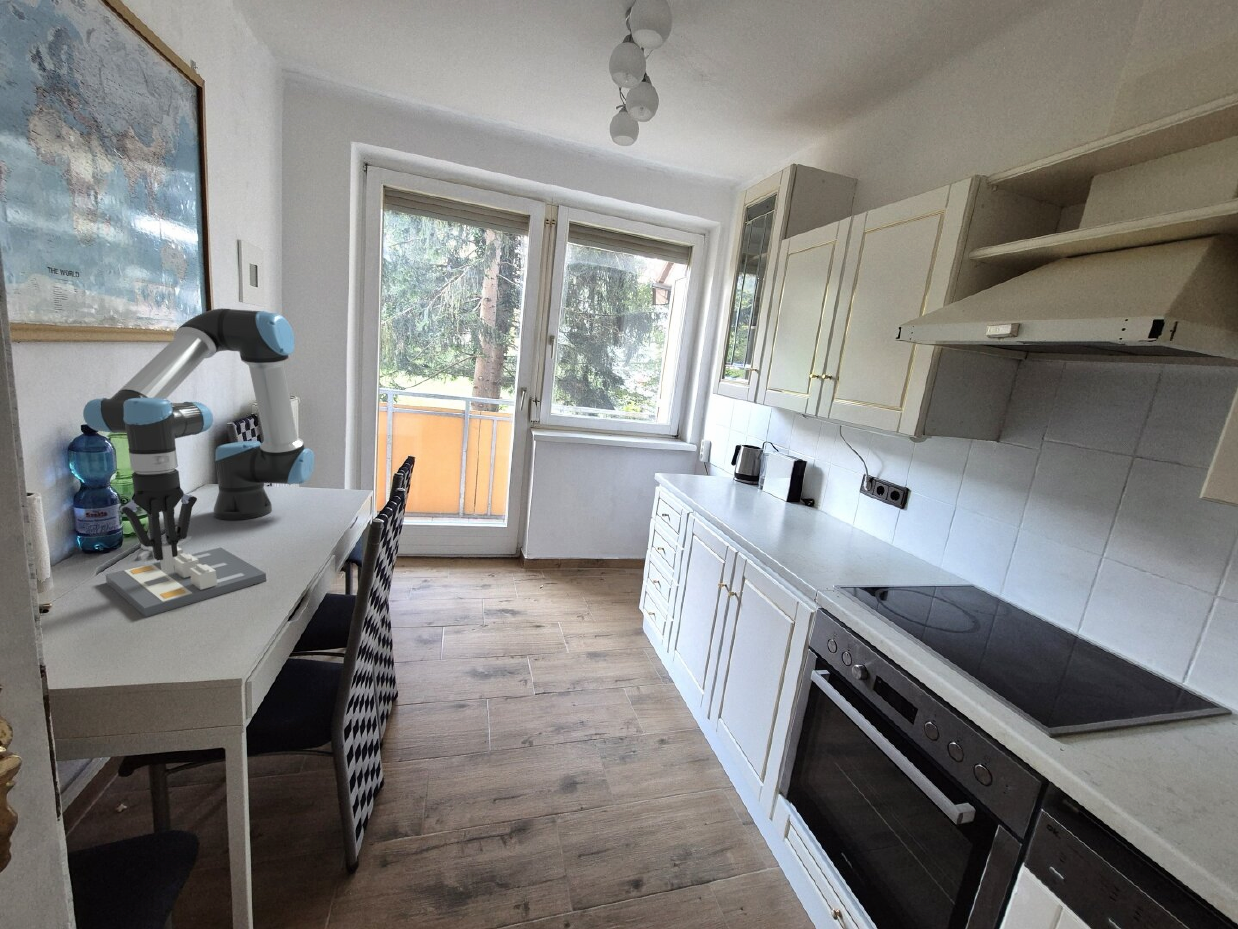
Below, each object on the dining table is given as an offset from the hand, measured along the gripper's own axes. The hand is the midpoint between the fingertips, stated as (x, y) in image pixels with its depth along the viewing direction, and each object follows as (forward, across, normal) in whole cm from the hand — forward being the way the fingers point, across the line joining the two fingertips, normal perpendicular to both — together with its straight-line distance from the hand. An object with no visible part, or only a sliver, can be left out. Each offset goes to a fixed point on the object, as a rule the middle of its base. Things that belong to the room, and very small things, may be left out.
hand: (167, 571), depth 114 cm
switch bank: (+4, +3, 0) cm, 5 cm away
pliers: (+4, +6, +27) cm, 28 cm away
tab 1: (+2, +3, +9) cm, 10 cm away
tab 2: (+2, +3, 0) cm, 4 cm away
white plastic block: (+2, +4, -9) cm, 10 cm away
